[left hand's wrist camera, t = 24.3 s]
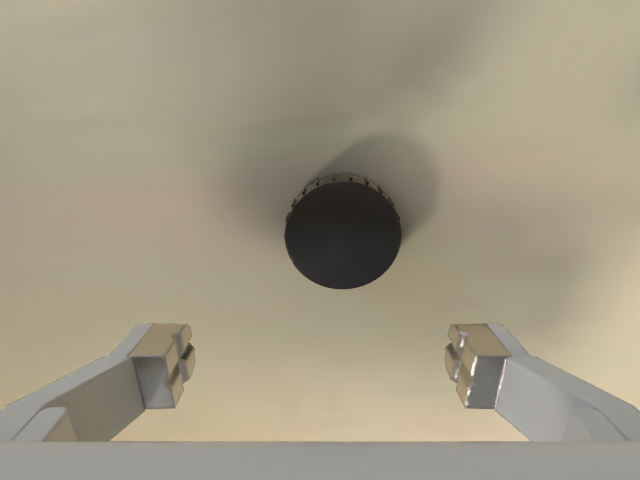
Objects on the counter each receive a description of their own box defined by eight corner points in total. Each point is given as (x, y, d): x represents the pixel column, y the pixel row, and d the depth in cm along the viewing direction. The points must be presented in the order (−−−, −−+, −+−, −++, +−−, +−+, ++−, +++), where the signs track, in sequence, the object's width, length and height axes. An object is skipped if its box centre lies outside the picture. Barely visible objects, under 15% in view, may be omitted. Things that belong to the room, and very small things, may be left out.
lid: (283, 173, 15) (278, 180, 14) (400, 171, 15) (407, 178, 14) (290, 275, 17) (286, 291, 16) (393, 274, 17) (399, 290, 16)
